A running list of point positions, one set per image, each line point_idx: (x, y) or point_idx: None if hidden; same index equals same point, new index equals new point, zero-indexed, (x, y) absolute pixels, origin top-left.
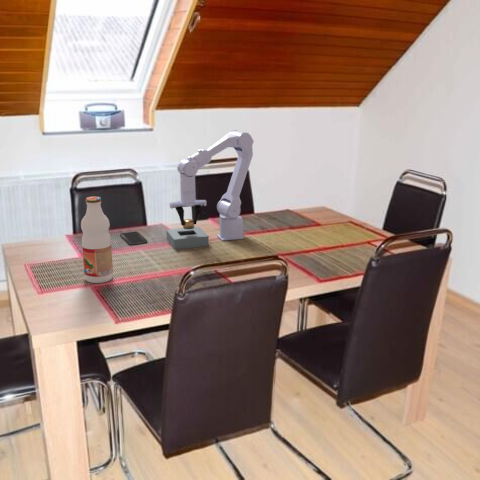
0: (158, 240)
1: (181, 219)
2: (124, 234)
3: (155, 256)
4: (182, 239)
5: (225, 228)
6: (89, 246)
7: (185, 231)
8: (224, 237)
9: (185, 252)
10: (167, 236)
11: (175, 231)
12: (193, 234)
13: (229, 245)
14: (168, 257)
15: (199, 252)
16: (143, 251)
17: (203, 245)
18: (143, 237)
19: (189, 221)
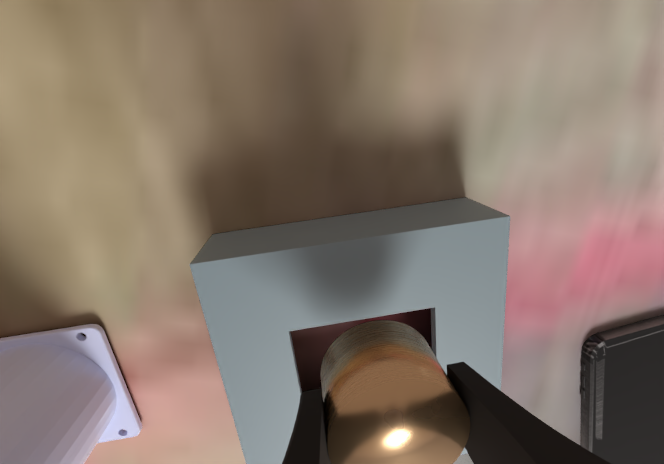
0: (514, 372)
1: (529, 413)
2: (659, 456)
3: (627, 62)
4: (434, 224)
5: (5, 416)
6: None
7: None
8: (75, 358)
9: (404, 111)
10: None
11: None
12: None
13: (39, 220)
14: (550, 14)
15: (298, 89)
16: (659, 188)
17: (251, 230)
18: (591, 406)
19: (397, 402)
